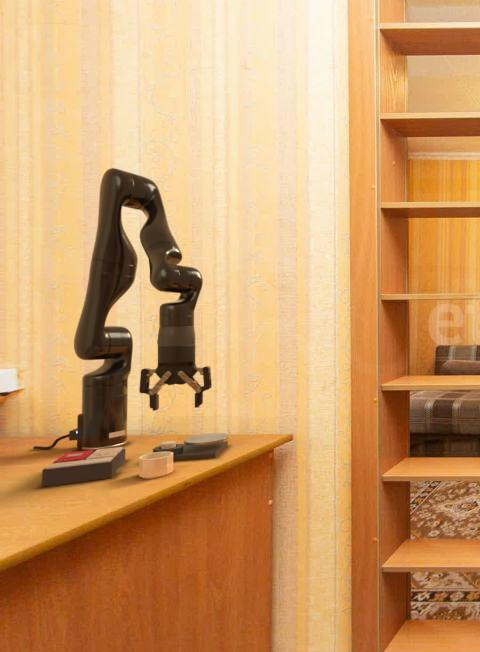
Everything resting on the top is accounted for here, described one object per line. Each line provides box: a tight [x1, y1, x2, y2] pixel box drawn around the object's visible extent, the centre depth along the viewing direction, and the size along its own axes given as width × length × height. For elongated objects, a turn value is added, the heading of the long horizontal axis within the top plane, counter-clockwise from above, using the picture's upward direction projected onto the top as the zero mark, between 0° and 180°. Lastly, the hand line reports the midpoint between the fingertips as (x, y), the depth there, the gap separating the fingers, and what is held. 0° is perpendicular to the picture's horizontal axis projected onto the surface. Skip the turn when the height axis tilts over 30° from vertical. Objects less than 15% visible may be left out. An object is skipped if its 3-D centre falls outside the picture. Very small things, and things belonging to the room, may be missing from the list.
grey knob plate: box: [152, 440, 229, 462], centre depth 115 cm, size 14×12×3 cm
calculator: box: [41, 446, 126, 488], centre depth 100 cm, size 11×4×15 cm
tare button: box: [160, 440, 177, 449], centre depth 111 cm, size 3×3×2 cm
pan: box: [183, 432, 230, 445], centre depth 118 cm, size 10×10×1 cm
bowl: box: [138, 452, 174, 480], centre depth 99 cm, size 6×6×4 cm
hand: (176, 408), depth 110 cm, fingers open, 8 cm apart
